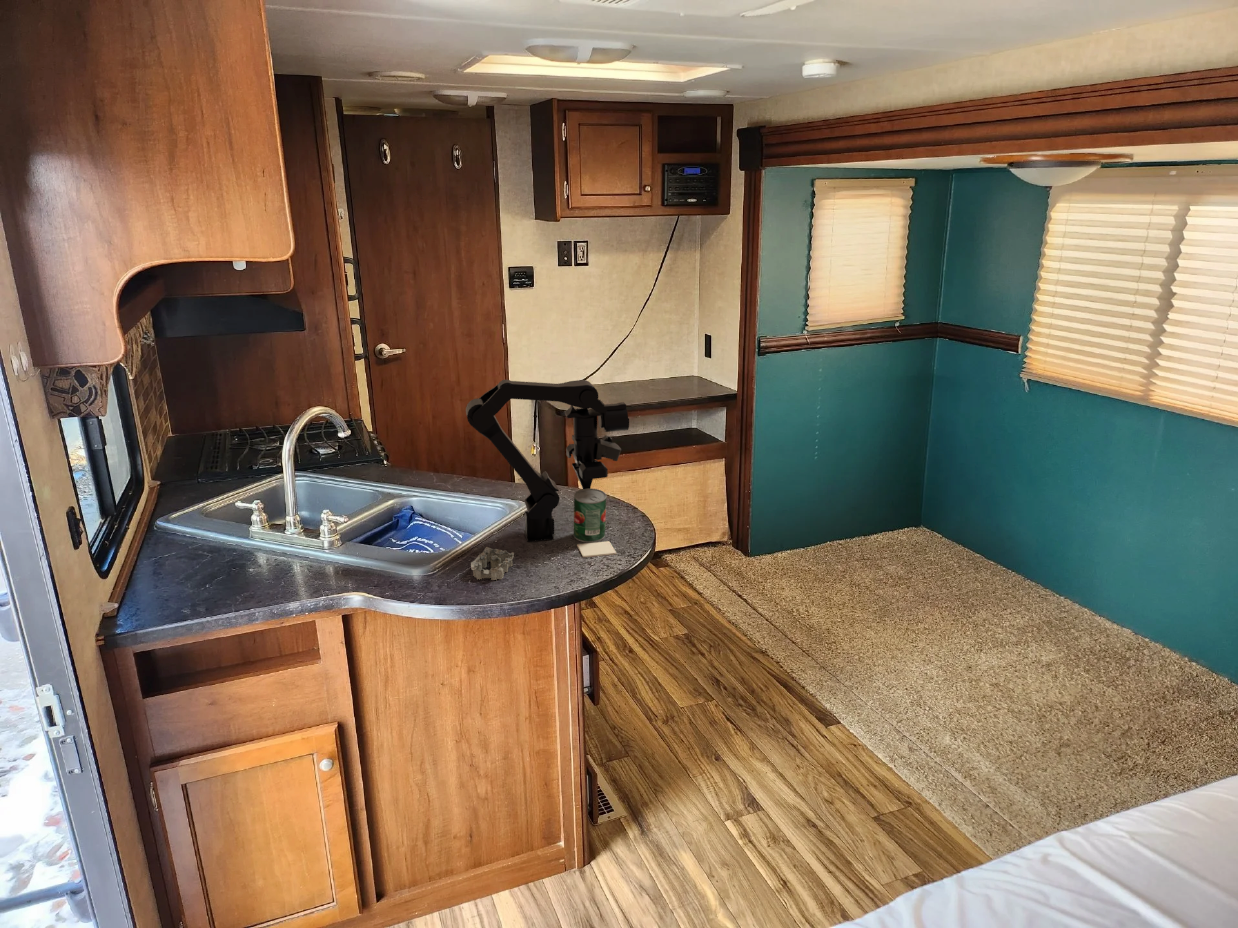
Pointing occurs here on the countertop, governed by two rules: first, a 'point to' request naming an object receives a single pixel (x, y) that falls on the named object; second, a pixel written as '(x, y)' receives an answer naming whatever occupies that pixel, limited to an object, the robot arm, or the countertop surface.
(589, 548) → the mat
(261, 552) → the countertop surface
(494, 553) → the egg carton
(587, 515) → the canned tomato
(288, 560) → the countertop surface
